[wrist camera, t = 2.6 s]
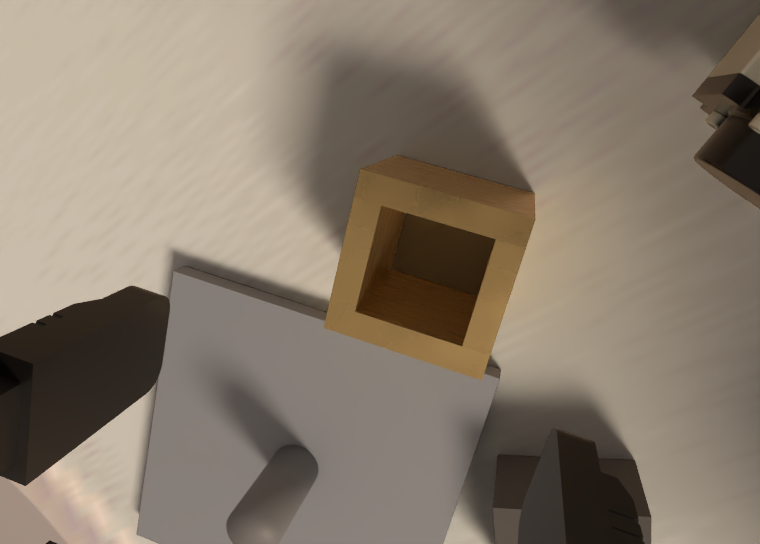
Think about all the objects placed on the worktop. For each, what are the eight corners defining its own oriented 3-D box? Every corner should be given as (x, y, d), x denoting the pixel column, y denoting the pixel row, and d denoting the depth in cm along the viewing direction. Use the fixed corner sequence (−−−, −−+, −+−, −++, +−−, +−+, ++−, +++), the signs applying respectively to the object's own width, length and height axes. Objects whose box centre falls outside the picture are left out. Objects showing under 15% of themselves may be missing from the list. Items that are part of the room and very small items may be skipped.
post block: (500, 369, 28) (492, 437, 22) (411, 630, 33) (386, 740, 27) (184, 265, 30) (104, 303, 24) (147, 523, 35) (73, 603, 29)
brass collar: (534, 193, 25) (535, 219, 20) (492, 323, 27) (481, 380, 21) (397, 154, 26) (360, 168, 21) (365, 283, 28) (323, 327, 22)
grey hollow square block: (635, 460, 27) (651, 517, 23) (634, 574, 29) (650, 644, 25) (498, 455, 29) (492, 507, 25) (504, 563, 30) (500, 628, 26)
